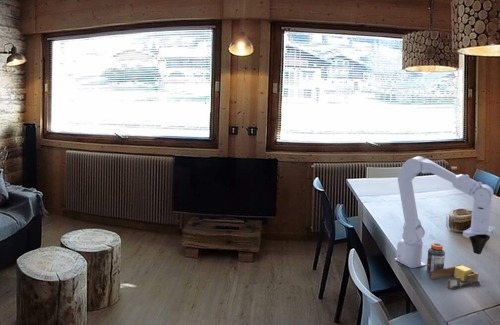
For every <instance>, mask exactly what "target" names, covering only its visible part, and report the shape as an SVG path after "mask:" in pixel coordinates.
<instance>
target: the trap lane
mask: <svg viewBox="0 0 500 325" xmlns="http://www.w3.org/2000/svg"><path fill="white" fill-rule="evenodd" d="M457 266H461V264H459V265H455V266H450V267H444V269H439V270H435V271H431V273H430V280H436V279H439V278H445V277H449V276H452V275H454V273H455V267H457ZM479 275H480V273H479V272H476V271H474V270H472V274H470V275H467V280H466V281H464V282H462V283H461V280H460V279H461V278H460V277H458V278H456V279H457V282H456V284H453V285H451V279H447V285H446V286H447V289H451V290H454V289H458V288H462V287H467V286H471V284H472V283H475V282H478V281H479Z"/></svg>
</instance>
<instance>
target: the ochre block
mask: <svg viewBox="0 0 500 325" xmlns="http://www.w3.org/2000/svg"><path fill="white" fill-rule="evenodd" d="M460 265H461V264H460ZM456 266H457V267H455V273H454V276H453V277H454V278H455V279H457V278H458V277H460V278H461V279H460V281H462V282H467V275H470V274H472V271H473V269H472V268H470V267H467V266H465V265H463V264H462V265H461V266H458V265H456Z"/></svg>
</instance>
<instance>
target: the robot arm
mask: <svg viewBox="0 0 500 325" xmlns="http://www.w3.org/2000/svg"><path fill="white" fill-rule="evenodd" d="M420 173H421V174H433V175H435V176H437V177H439V178H441V179H444V180H446V181H447V182H450V183H452V184H451V185H452V187H453V188H455V189H456V190H458V191H459V192H462V193H464V194H465V195H467V196H469V197H472V199H473V204H472V211H471V212H472V213H471V222H470V227H469V228H468V229H466V230H463V231H462V237H464V238H467V239H468V238H469V241H470V242H471V246H472V252H473V254H476V255H481V254H482V252H483V249H484V248H485V245H486V244H487V243H488V241H489V240H490V237H491V236H490V235H492V234H495V233H496V229H497V228H496V227H494V226H490V223H491V222H490V220H491V215H492V214H491V212H492V211H491V210H492V206H491V205H492V198H493V196H494V190H493V188H492V187H491V186H490V185H489V184H486V183H485V184H484V183H483V182H482V181H476V180H474V179H472V178H470V175H469V174H462V173H461V174H456V173H454V172H452V171H450V170H448V169H446V168H445V167H444V166H441V165H440V164H438V163H436V162H434V161H433V160H430V159H429V158H426V157H423V156H421V155H420V156H419V155H418V156H414V157H411V158H409V159H407V160H406V161H405V162H404V163H403V164H402V165H401V169H400V171H399V173H398V176H397V184H398V189H399V196H400V200H401V206H402V212H403V213H402V214H403V217H404V219H403V220H404V223H403V226H402V228H403V233H402V236H401V237H402V239H400V240H399V241H397V245H396V257H395V258H394V260H395V261H396V262H399V263H401V264H403V265H405V266H406V267H409V268H410V269H415V268H419V267H420V268H421V267H424V266H427V263H424V262H423V261H422V256H423V255H422V254H423V246H424V245H423V240H422V239H423V238H424V237H425V234H426V232H425V229H424V227H423V225H422V222H421V220H420V219H419V217H418V209H417V204H416V198H415V193H414V186H413V180H414V179H415V178H416V177H417V176H418V175H419V174H420Z"/></svg>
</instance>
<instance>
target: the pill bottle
mask: <svg viewBox="0 0 500 325" xmlns="http://www.w3.org/2000/svg"><path fill="white" fill-rule="evenodd" d="M443 248H444V247H443V244H441V243H439V242H432V243H431V244H430V248H428V250H427V260H426V261H427V262H426V271H427V272H428V273H430V274H431V271H435V270H439V269H444V268H445V258H446V257H445V256H446V255H445V254H446V253H445V251H444V249H443Z"/></svg>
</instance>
